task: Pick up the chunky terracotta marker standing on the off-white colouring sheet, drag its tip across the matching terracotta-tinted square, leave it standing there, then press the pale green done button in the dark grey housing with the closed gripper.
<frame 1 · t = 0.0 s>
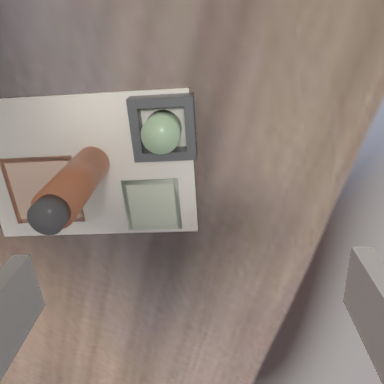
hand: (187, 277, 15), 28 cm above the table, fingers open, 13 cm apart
marker: (93, 162, 43), resting on sheet
button housing: (164, 125, 40), resting on sheet
done button: (161, 131, 38), point 3 cm above the table, slide at 0.0 cm
sheet: (87, 169, 44), on the table
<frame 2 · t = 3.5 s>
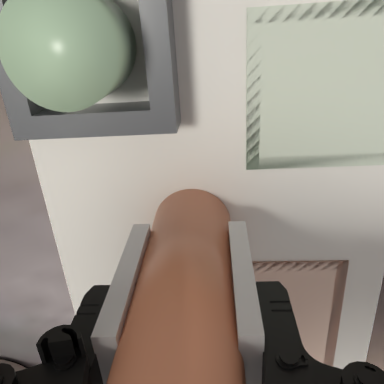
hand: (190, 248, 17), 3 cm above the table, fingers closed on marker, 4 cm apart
marker: (192, 223, 19), resting on sheet, touching gripper
button housing: (94, 44, 15), resting on sheet
done button: (74, 48, 13), point 3 cm above the table, slide at 0.0 cm
sheet: (217, 235, 20), on the table
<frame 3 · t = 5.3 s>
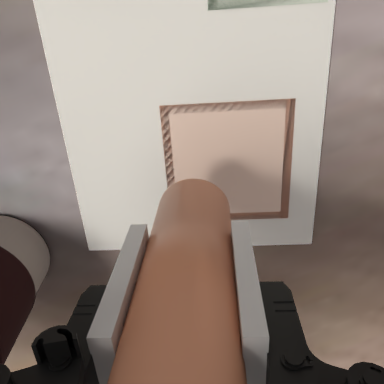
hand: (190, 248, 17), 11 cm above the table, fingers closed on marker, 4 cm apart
marker: (194, 211, 20), point 7 cm above the table, touching gripper
coffee cup: (10, 248, 30), on the table
sheet: (187, 79, 24), on the table
when the fingers open (2 cm above the table, at t = 7.6 s): marker stays where it is, resting on sheet.
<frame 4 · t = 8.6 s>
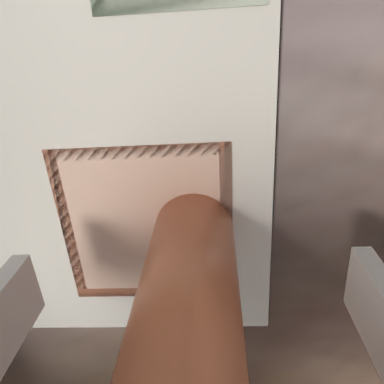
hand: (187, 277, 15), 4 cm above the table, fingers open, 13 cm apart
marker: (194, 228, 18), resting on sheet
sheet: (79, 114, 17), on the table
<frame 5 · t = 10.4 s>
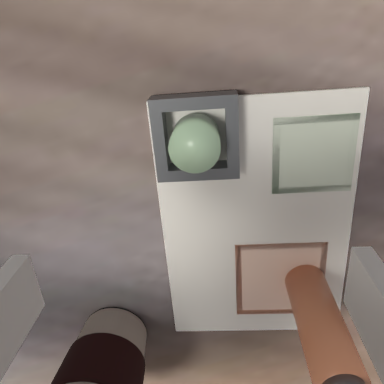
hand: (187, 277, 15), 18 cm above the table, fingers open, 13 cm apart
marker: (304, 280, 37), resting on sheet
coffee cup: (117, 328, 42), on the table
button housing: (196, 134, 31), resting on sheet
done button: (195, 142, 29), point 3 cm above the table, slide at 0.0 cm
sheet: (254, 229, 35), on the table
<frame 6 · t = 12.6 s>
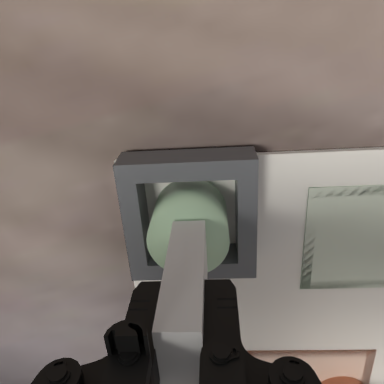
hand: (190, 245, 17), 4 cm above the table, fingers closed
button housing: (191, 207, 20), resting on sheet
done button: (189, 225, 19), point 2 cm above the table, slide at 0.4 cm, touching gripper
sheet: (272, 330, 25), on the table
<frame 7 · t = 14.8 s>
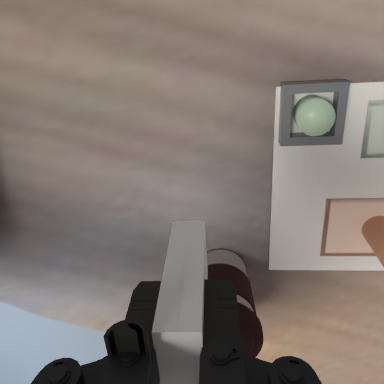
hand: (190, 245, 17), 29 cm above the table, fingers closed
marker: (377, 228, 48), resting on sheet
coffee cup: (220, 267, 53), on the table
button housing: (309, 111, 42), resting on sheet
done button: (313, 115, 40), point 2 cm above the table, slide at 0.6 cm
sheet: (342, 186, 46), on the table
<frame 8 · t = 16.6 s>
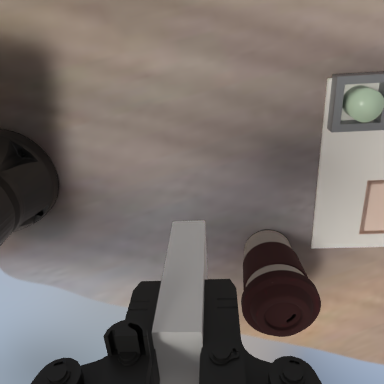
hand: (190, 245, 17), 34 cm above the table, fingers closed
coffee cup: (266, 247, 58), on the table
button housing: (357, 100, 47), resting on sheet
done button: (362, 103, 45), point 2 cm above the table, slide at 0.6 cm
sheet: (382, 169, 51), on the table
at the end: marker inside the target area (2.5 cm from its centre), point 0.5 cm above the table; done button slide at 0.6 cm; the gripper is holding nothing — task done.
